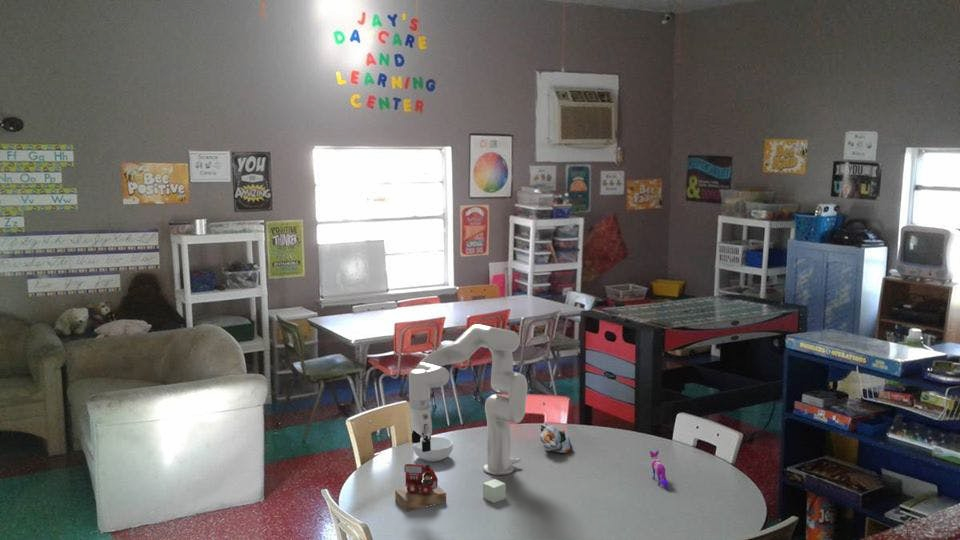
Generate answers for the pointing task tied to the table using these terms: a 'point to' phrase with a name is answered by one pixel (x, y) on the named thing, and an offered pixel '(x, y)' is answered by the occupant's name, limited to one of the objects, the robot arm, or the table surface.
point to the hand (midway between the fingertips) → (421, 446)
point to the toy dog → (658, 468)
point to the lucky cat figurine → (555, 439)
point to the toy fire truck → (420, 478)
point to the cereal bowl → (434, 449)
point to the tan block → (419, 498)
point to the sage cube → (494, 490)
